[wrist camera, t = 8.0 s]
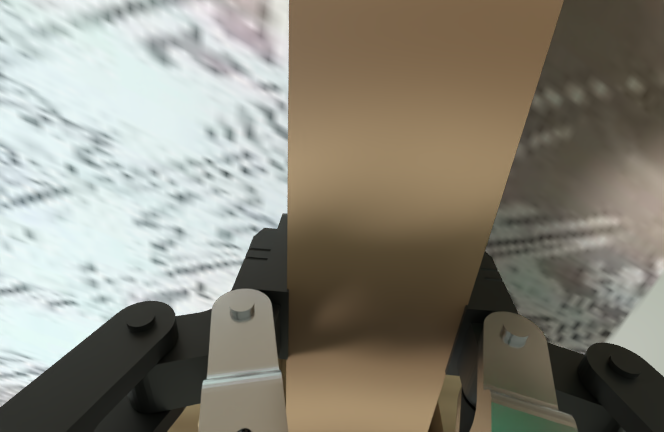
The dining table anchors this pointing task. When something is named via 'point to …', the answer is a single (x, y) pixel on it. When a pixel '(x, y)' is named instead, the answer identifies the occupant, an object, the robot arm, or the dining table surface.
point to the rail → (395, 192)
